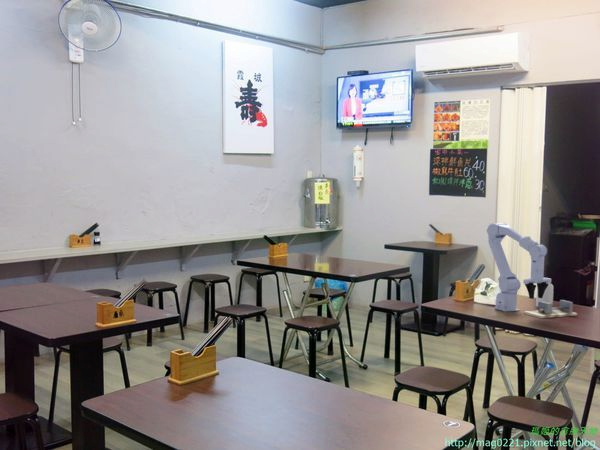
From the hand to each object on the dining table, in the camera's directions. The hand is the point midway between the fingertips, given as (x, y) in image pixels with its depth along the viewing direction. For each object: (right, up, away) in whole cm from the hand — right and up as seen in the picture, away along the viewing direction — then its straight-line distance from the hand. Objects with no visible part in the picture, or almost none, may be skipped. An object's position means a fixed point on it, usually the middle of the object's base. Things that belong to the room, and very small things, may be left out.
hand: (535, 298), depth 296 cm
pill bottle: (+13, -7, +22) cm, 26 cm away
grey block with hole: (+5, -7, +3) cm, 9 cm away
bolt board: (+9, -8, +4) cm, 13 cm away
